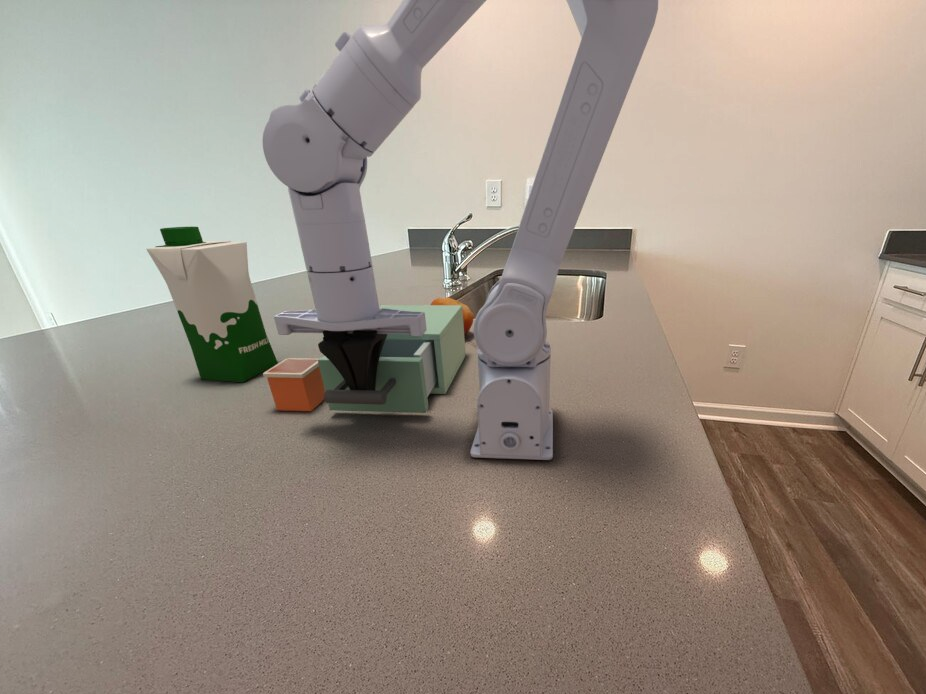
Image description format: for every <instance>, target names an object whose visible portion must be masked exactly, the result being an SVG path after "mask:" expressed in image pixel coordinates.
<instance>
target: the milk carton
mask: <svg viewBox="0 0 926 694" xmlns="http://www.w3.org/2000/svg"><path fill="white" fill-rule="evenodd" d="M159 231H160V234H161V237H162V240H163V241H164V244H163V245H156V246H155V247H147V248H146V251H147V254H148V255H149V256H150V258H151V259H152V261H153V263H154V264H155V265H154V266H155V267H156V268H157V270H158V271H159V273H160V274H161V276H162V278H163V280H164V282H165V284H166V286H167V289H168V291H169V293H170V297H171V299H172V301H173V304H174V306H175V309H176V312H177V315H178V317H179V319H180V322H181V325H182V328H183V330H184V333H185V335H186V338H187V340H188V343H189V346H190V349H191V352H192V355H193V358H194V362H195V365H196V368H197V371H198V375H199V378H200V380H207V381H208V380H209V381H221V382H232V383H245V382H246V381H248V380H251V379H252V378H254V377H256V376H258V375H260V374H261V373H264V372H266V371H268V370H269V369H271V368H272V367H274V366H275V365H277V364H279V362H278V359H277V357H276V354H275V352H274V349H273V348H272V344H271V342H270V340H269V338H268V335H267V332H266V327H265V325H264V322H263V318H262V315H261V311H260V309H259V308H260V307H259V304H258V301H257V298H256V295H255V292H254V291H255V290H254V287H253V284H252V280H251V278H250V272H249V260H248V244H247V241H231V240H220V241H219V240H218V241H217V240H216V241H215V240H214V241H212V240H211V241H209V240H207V241H206V240H205V241H204V240H203V237H202V234H201V231H200V229H199V226H175V227H162V228H160V229H159Z"/></svg>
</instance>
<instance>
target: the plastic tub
mask: <svg viewBox="0 0 926 694" xmlns="http://www.w3.org/2000/svg"><path fill="white" fill-rule="evenodd" d="M318 359H319V358H307V357H306V358H305V357H304V358H303V357H302V358H300V357H299V358H296V357H287V358H285V359H283V360H282V361H280V362H278V364H276V365H275V366H273V367H271V368H269V369H267V370H265V371H263V372H262V375H263V378H266V379H267V382H268V386H269V389H270V391H271V396H272V398H273V402H274V404H275V408H276V409H275V410H276V411H283V412H284V411H285V412H287V411H288V412H312V411H314V410H315V409H316V408H317V407H318V406H319V405H320V404H321V403H323V401H325V400H324V393H325V388H324V384H323V380H322V376H321V372H320V368H319V364H318Z"/></svg>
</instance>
